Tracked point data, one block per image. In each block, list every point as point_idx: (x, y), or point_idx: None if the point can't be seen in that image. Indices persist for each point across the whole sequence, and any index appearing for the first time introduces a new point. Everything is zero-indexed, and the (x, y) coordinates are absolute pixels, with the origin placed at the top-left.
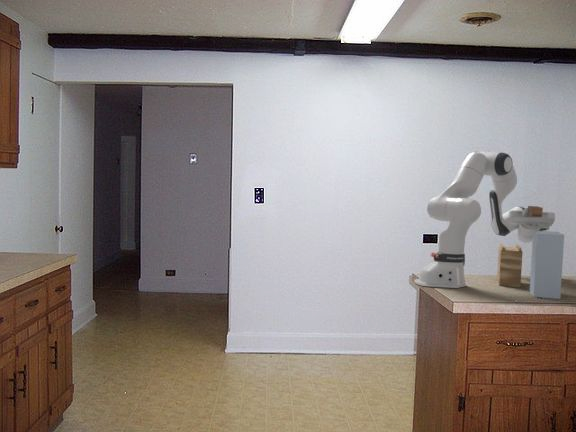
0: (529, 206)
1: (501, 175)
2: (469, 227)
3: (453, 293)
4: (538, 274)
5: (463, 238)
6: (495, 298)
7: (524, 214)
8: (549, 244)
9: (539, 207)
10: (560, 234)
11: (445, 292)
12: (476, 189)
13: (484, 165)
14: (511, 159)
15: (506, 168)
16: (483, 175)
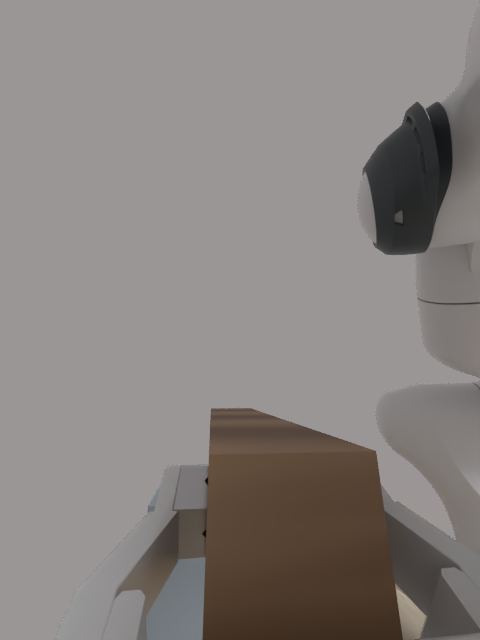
0: (294, 424)
1: (415, 247)
2: (431, 481)
3: (400, 612)
4: None
5: (451, 521)
6: None
7: (428, 622)
8: None
9: (222, 410)
10: (179, 465)
11: (419, 614)
12: (431, 350)
13: (416, 260)
14: (364, 171)
15: (369, 237)
16: (429, 290)
